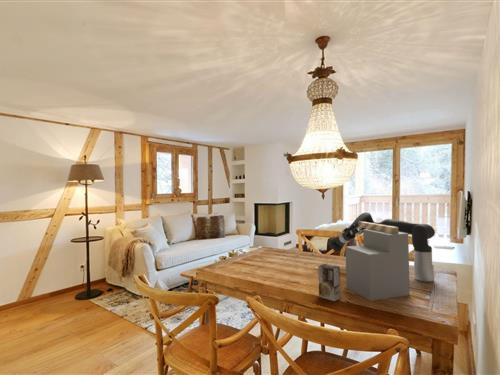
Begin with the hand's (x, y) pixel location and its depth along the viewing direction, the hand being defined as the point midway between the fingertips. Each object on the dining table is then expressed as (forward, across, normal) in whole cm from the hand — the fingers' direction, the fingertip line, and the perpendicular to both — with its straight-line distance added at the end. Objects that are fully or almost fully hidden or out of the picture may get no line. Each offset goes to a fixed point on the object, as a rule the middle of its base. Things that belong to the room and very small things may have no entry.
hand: (360, 226), depth 171 cm
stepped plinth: (0, +5, -38) cm, 38 cm away
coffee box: (0, +34, -38) cm, 51 cm away
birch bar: (+11, -1, -7) cm, 13 cm away
